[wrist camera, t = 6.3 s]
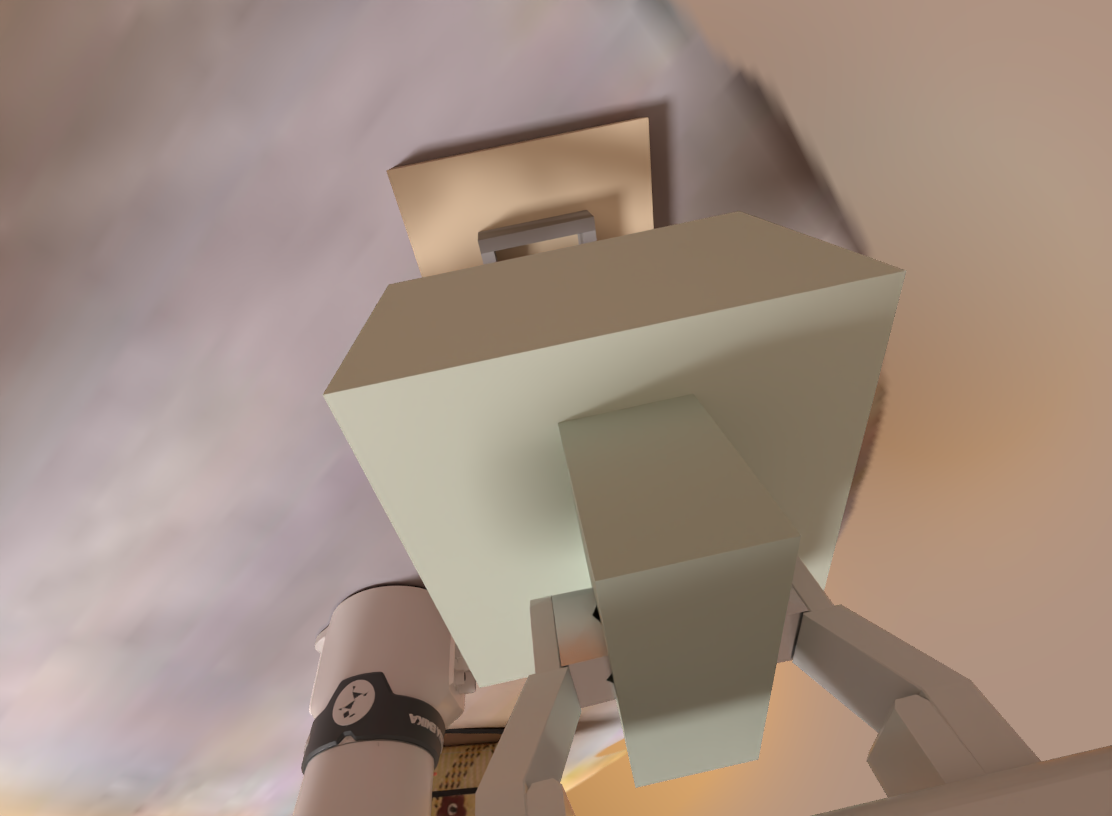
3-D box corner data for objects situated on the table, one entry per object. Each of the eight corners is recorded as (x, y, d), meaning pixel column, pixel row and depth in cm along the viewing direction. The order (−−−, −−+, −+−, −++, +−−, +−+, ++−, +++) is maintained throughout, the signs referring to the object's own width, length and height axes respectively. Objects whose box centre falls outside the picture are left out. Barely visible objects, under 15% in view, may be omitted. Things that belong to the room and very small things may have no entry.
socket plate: (651, 343, 38) (670, 367, 34) (462, 383, 37) (460, 412, 34) (639, 117, 29) (661, 117, 25) (392, 167, 29) (378, 174, 25)
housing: (726, 475, 21) (912, 749, 12) (481, 528, 21) (477, 850, 12) (739, 211, 15) (1160, 361, 6) (388, 284, 15) (220, 566, 5)
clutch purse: (554, 720, 71) (568, 849, 59) (548, 741, 75) (560, 866, 62) (353, 735, 66) (321, 880, 53) (356, 756, 69) (327, 897, 57)
